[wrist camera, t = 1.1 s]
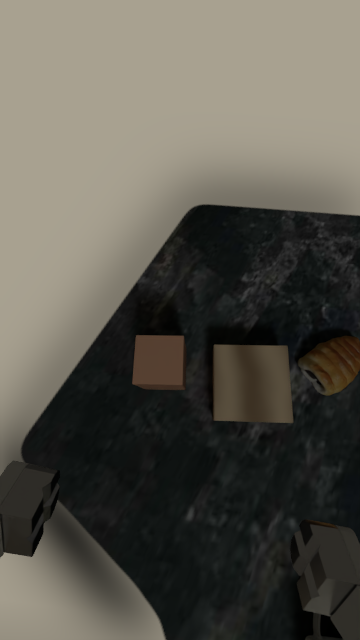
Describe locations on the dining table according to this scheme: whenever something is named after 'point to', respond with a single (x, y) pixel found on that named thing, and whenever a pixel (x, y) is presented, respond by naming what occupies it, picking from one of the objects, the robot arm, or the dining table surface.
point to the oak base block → (251, 383)
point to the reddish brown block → (160, 362)
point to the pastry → (332, 364)
